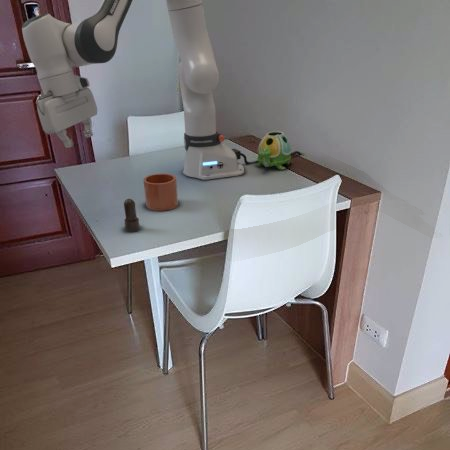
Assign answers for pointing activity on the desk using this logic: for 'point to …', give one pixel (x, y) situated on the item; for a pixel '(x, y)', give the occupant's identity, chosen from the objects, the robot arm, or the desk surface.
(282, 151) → the turtle holder
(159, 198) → the cup
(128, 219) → the pestle
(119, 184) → the desk surface
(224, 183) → the desk surface
